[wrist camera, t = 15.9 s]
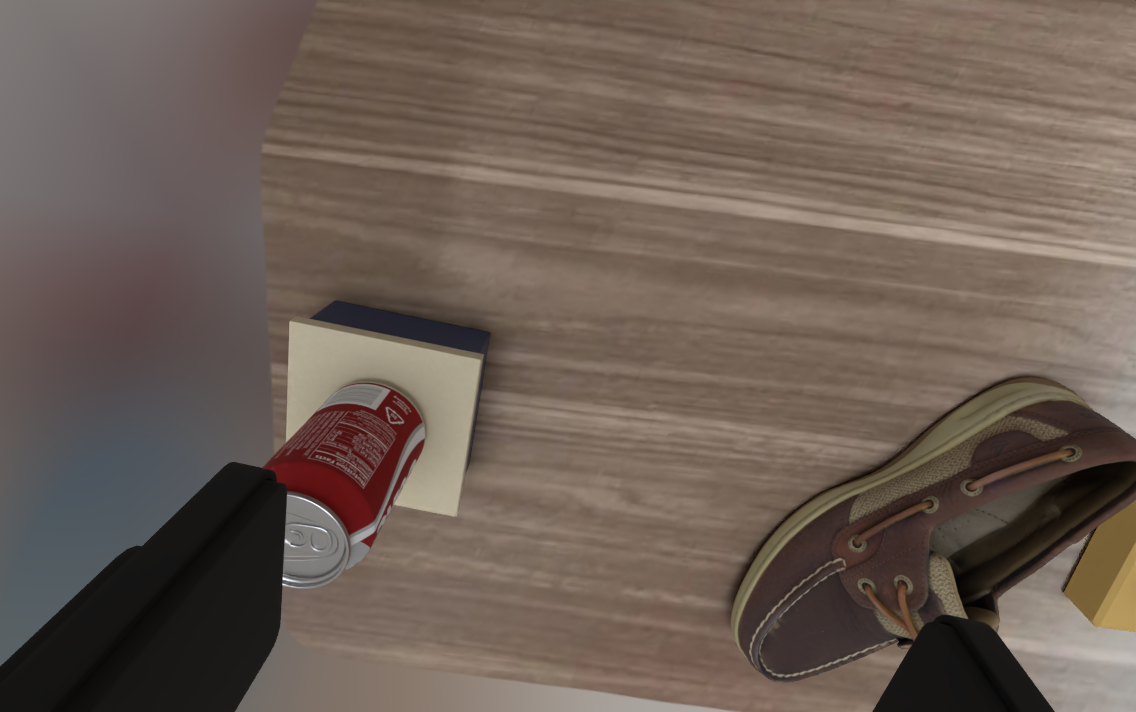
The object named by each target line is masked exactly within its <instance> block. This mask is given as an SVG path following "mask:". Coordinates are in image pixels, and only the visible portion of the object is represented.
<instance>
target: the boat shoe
mask: <svg viewBox="0 0 1136 712" xmlns="http://www.w3.org/2000/svg"><path fill="white" fill-rule="evenodd" d="M1134 501H1136V439H1135V438H1133V437H1132V436H1130V435H1129V434H1128V433H1126V432H1125V431H1124V430H1122V429H1121V428H1120V427H1118V426H1117V425H1115V424H1114V423H1112V422H1111V421H1109V420H1108V419H1106V418H1105V417H1103V416H1102V415H1100V414H1098V413H1097V412H1095V411H1094V410H1092V409H1091V408H1090V407H1089V406H1088V405H1087V404H1086V403H1085V401H1084V400H1083V399H1082V398H1080V397H1079V396H1078V395H1077V394H1076V393H1075V392H1073V391H1072V390H1070V389H1068V388H1067V387H1065V386H1063V385H1061V384H1059V383H1056V382H1054V381H1051V380H1047V379H1043V378H1036V377H1025V378H1018V379H1014V380H1010V381H1007V382H1004V383H1002V384H999V385H997V386H995V387H993V388H991V389H989V390H987V391H985V392H983V393H982V394H980V395H978V396H976V397H975V398H973V399H972V400H970V401H968V402H967V403H965V404H963V405H962V406H960V407H959V408H957V409H956V410H954V411H953V412H951V413H950V414H948V415H947V416H946V417H944V418H943V419H941V420H940V421H939V422H937V423H936V424H935V425H934V426H932V427H931V428H930V429H929V430H927V431H926V432H925V433H924V434H923V435H921V436H920V437H919V438H918V439H917V440H916V441H915V442H913V443H912V444H911V445H910V446H909V447H908V448H907V449H906V450H905V451H904V452H902V453H901V455H900V456H898V457H897V458H895V459H894V460H893V461H892V462H891V463H889V464H887V465H885V466H884V467H882V468H881V469H879V470H877V471H875V472H873V473H872V474H870V475H866V476H864V477H862V478H860V479H857V480H853V481H851V482H849V483H846V484H843V485H841V486H839V487H835V488H832V489H830V490H828V491H826V492H824V493H822V494H820V495H818V496H817V497H815V498H813V499H812V500H811V501H809V502H808V503H806V504H805V505H804V506H802V507H801V508H799V509H798V510H797V511H796V512H795V513H793V514H792V515H791V516H790V517H789V518H788V519H787V520H785V521H784V522H783V523H782V524H781V525H780V526H779V527H778V528H777V530H776V531H775V532H774V533H773V534H772V535H771V537H770V538H769V539H768V540H767V541H766V543H765V544H764V545H763V547H762V548H761V550H760V551H759V553H758V554H757V556H756V558H755V559H754V561H753V563H752V564H751V566H750V568H749V569H748V571H747V573H746V575H745V577H744V579H743V581H742V583H741V585H740V588H739V590H738V592H737V595H736V598H735V601H734V604H733V607H732V611H731V632H732V635H733V638H734V640H735V642H736V644H737V646H738V648H739V650H740V651H741V652H742V654H743V655H744V656H745V657H746V658H747V659H748V660H749V662H750V663H751V664H752V665H753V667H754V668H755V669H756V670H758V671H759V672H760V673H762V674H763V675H764V676H765V677H767V678H768V679H770V680H772V681H775V682H794V681H798V680H802V679H805V678H808V677H811V676H815V675H818V674H821V673H823V672H826V671H829V670H832V669H835V668H837V667H839V666H842V665H844V664H847V663H849V662H852V661H855V660H857V659H859V658H862V657H864V656H867V655H869V654H871V653H874V652H876V651H878V650H880V649H882V648H885V647H887V646H889V645H891V644H894V643H896V642H898V641H899V643H898V644H897V645H898V647H899V648H901V649H908V648H910V647H911V645H912V644H913V642H914V640H915V639H916V637H917V635H918V633H919V632H920V630H921V628H922V627H923V626H924V625H925V624H926V623H928V622H933V621H934V620H935V618H936V617H938V616H940V615H952V616H957V617H961V618H966V619H971V620H975V621H980V622H984V623H986V624H988V625H990V626H991V627H992V628H993V629H994V630H995V631H996V633H997V632H998V627H999V622H1000V618H999V610H998V604H997V600H998V598H999V597H1000V596H1001V595H1002V594H1003V593H1005V592H1006V591H1007V590H1009V589H1010V588H1012V587H1013V586H1015V585H1016V584H1018V583H1019V582H1020V581H1022V580H1023V579H1025V578H1026V577H1028V576H1029V575H1031V574H1033V573H1034V572H1036V571H1037V570H1038V569H1039V568H1041V567H1043V566H1044V565H1045V564H1046V563H1048V562H1049V561H1050V560H1052V559H1053V558H1054V557H1055V556H1057V555H1058V554H1059V553H1061V552H1062V551H1063V550H1065V549H1066V548H1067V547H1069V546H1070V545H1072V544H1075V543H1077V542H1079V541H1080V540H1081V539H1082V538H1084V537H1085V536H1086V535H1087V534H1088V533H1090V532H1091V531H1092V530H1094V529H1095V528H1096V527H1098V526H1099V525H1100V524H1102V523H1103V522H1105V521H1107V520H1108V519H1110V518H1111V517H1113V516H1114V515H1116V514H1117V513H1118V512H1120V511H1121V510H1123V509H1124V508H1126V507H1128V506H1129V505H1130V504H1131V503H1133V502H1134Z"/></svg>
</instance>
